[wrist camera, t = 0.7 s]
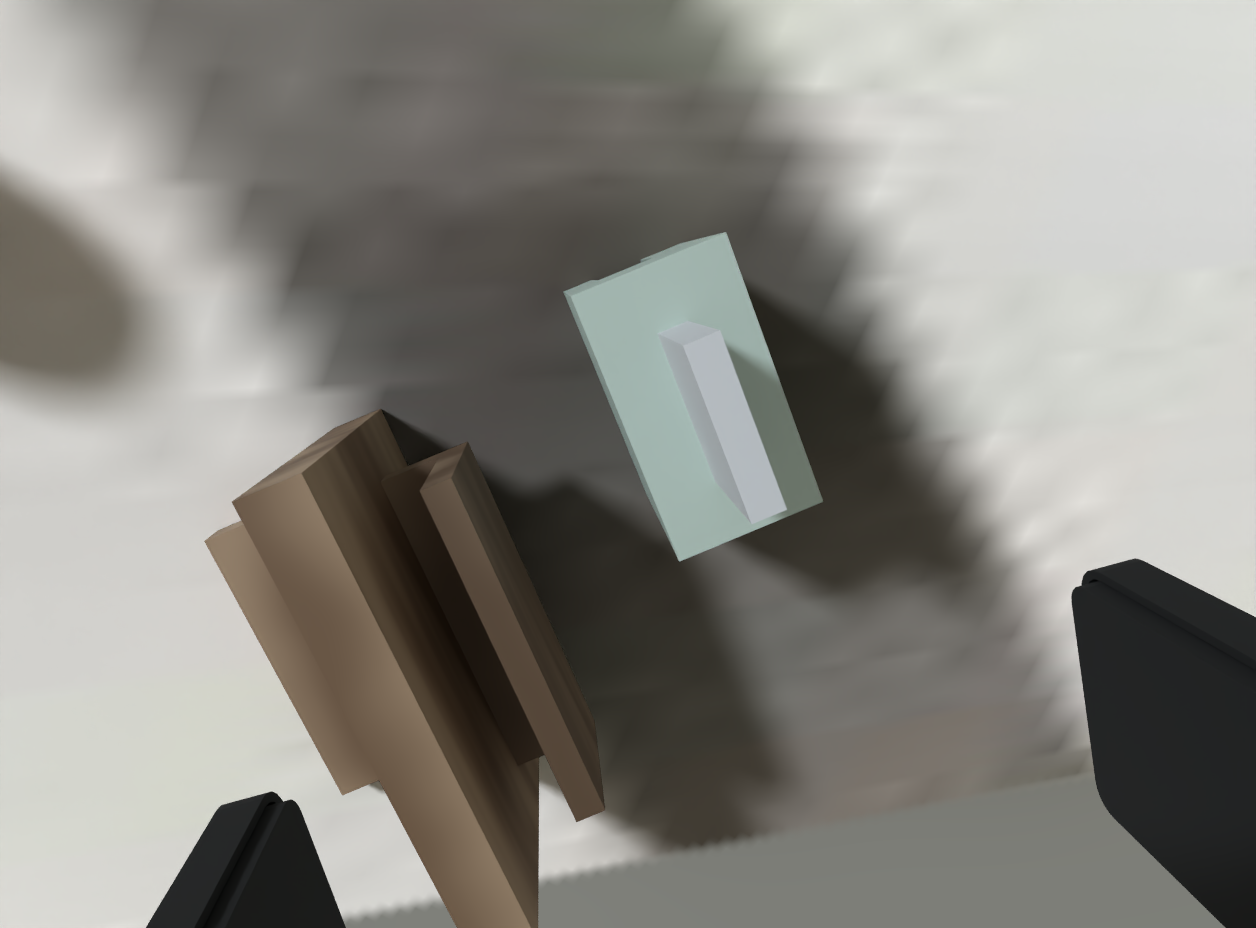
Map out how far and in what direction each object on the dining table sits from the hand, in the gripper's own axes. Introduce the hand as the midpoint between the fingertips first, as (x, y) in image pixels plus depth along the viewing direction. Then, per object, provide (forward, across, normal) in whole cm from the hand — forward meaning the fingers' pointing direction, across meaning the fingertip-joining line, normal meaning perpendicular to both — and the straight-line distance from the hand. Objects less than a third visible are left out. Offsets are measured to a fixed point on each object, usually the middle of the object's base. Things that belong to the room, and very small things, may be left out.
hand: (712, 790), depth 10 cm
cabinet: (+27, -3, -1) cm, 27 cm away
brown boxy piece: (+27, +9, +6) cm, 29 cm away
